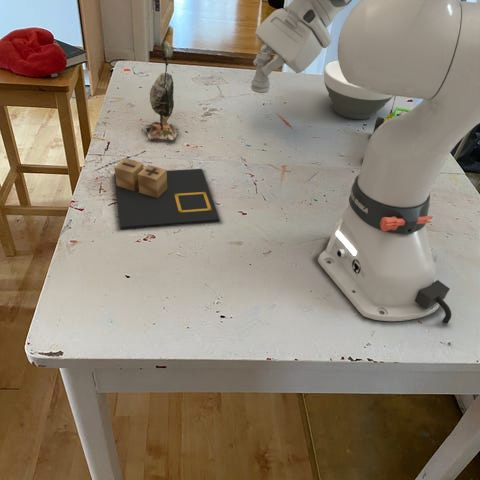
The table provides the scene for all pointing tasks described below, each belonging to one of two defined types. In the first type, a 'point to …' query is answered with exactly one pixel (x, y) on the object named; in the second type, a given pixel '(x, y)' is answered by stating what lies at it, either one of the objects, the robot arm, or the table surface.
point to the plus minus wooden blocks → (141, 177)
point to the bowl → (351, 95)
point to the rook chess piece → (261, 74)
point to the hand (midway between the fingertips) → (259, 69)
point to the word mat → (168, 203)
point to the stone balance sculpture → (163, 101)
